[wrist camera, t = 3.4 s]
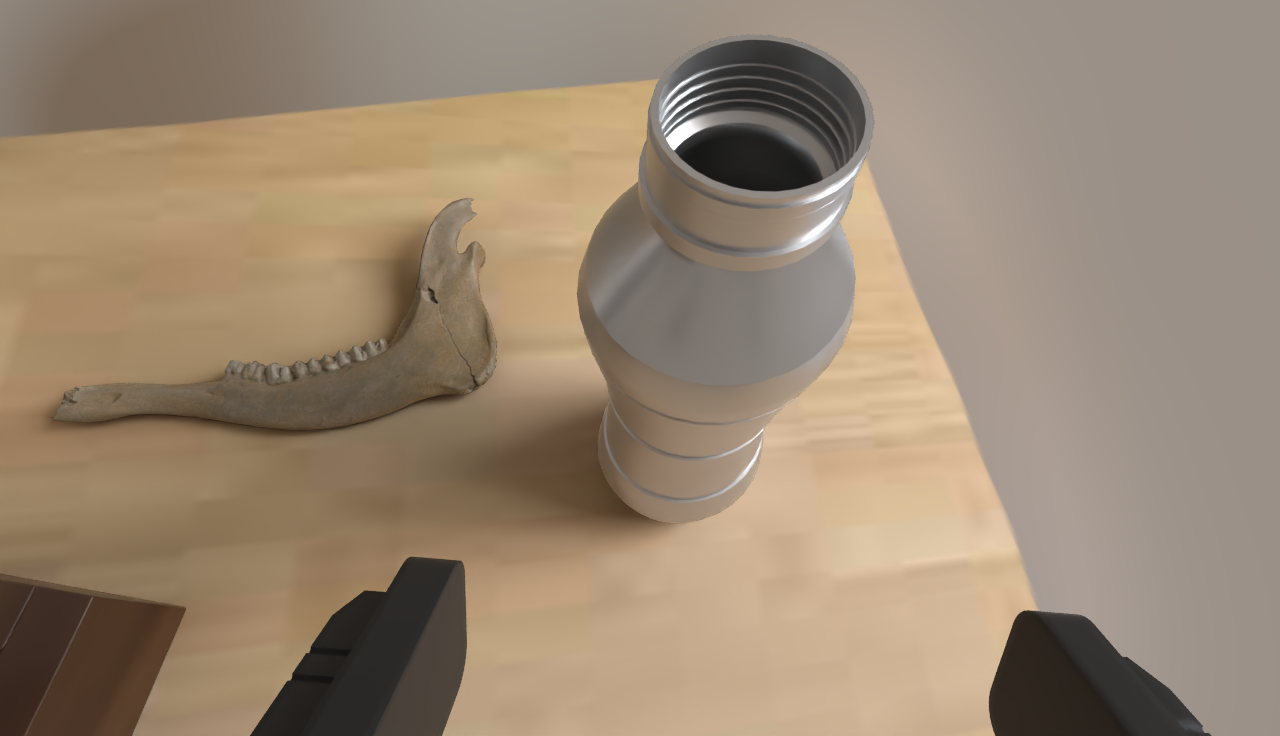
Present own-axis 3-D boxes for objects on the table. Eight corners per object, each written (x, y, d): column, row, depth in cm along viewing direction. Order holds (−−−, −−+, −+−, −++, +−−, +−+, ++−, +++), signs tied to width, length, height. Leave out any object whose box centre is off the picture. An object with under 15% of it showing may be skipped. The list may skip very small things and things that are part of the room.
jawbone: (562, 351, 31) (560, 334, 29) (129, 592, 27) (92, 591, 25) (474, 212, 34) (466, 188, 32) (62, 411, 29) (23, 397, 27)
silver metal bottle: (777, 491, 28) (1058, 182, 10) (638, 562, 27) (670, 355, 9) (706, 369, 31) (828, -62, 12) (574, 429, 29) (493, 44, 11)
